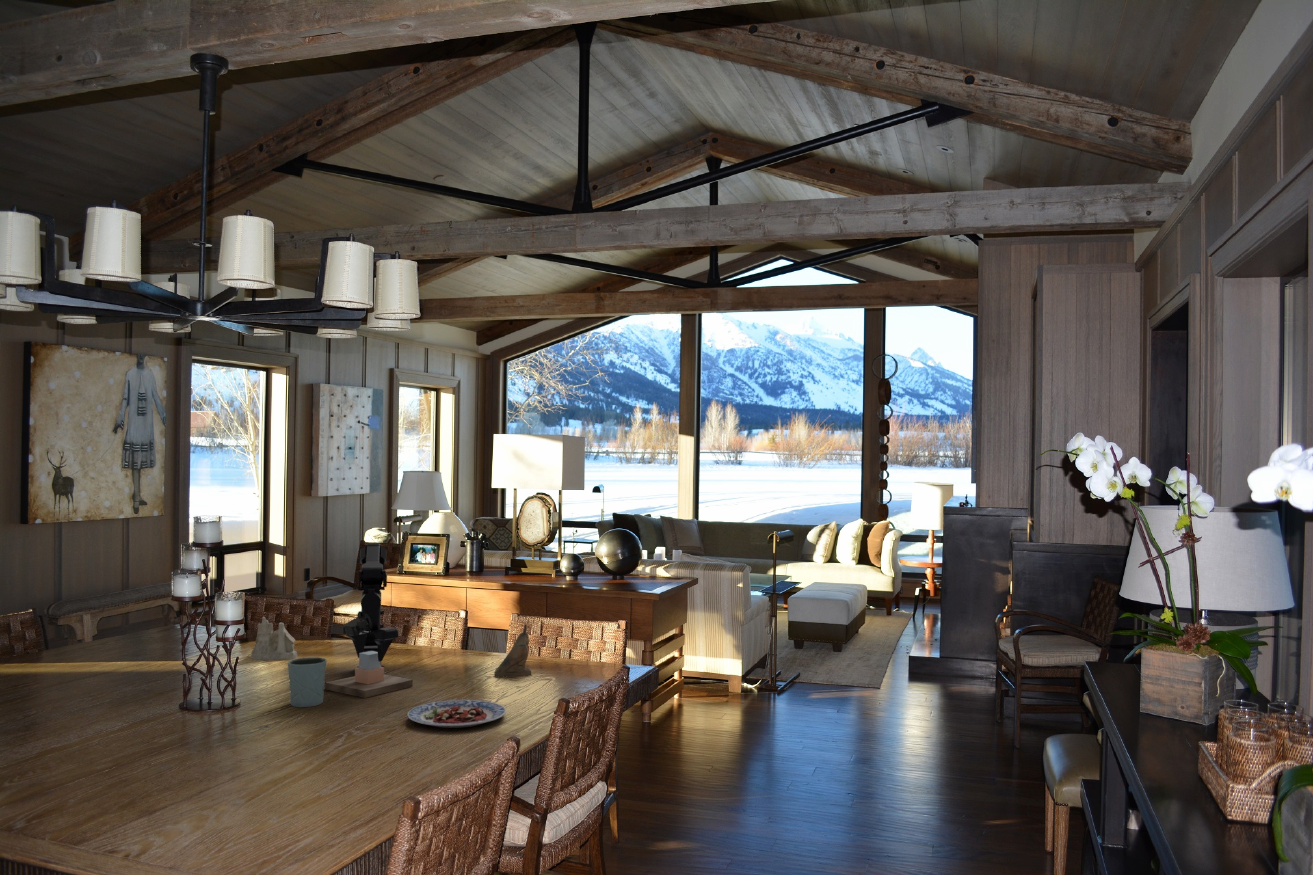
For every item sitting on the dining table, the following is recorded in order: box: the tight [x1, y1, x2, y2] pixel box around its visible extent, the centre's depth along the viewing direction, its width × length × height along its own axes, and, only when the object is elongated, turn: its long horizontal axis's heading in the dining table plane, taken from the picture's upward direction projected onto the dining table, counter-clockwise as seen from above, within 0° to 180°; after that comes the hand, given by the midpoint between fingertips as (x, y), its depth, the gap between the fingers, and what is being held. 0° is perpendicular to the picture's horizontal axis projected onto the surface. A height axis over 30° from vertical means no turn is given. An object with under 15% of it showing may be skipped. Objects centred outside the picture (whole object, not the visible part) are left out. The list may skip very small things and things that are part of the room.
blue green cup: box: [287, 656, 327, 708], centre depth 262 cm, size 10×10×12 cm
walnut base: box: [324, 673, 414, 699], centre depth 281 cm, size 18×18×2 cm
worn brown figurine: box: [494, 623, 532, 678], centre depth 302 cm, size 12×6×18 cm, turn 106°
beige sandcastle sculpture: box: [250, 616, 298, 662], centre depth 328 cm, size 16×16×15 cm
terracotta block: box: [354, 666, 385, 684], centre depth 281 cm, size 6×6×4 cm
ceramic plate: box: [407, 699, 507, 729], centre depth 247 cm, size 26×26×3 cm
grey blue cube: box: [358, 651, 382, 670], centre depth 282 cm, size 4×4×4 cm
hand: (369, 659), depth 282 cm, fingers open, 9 cm apart
